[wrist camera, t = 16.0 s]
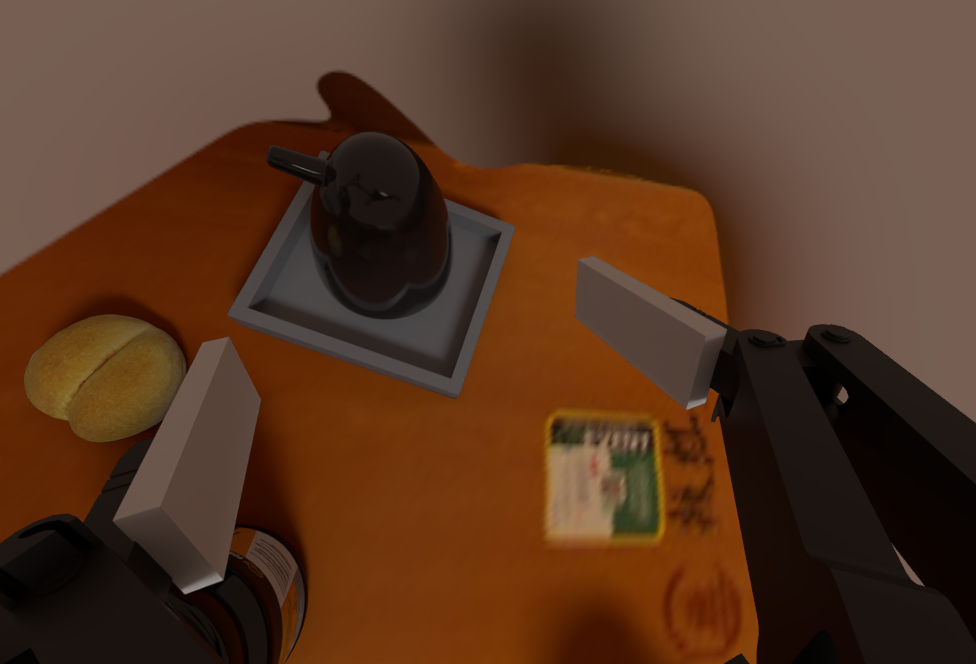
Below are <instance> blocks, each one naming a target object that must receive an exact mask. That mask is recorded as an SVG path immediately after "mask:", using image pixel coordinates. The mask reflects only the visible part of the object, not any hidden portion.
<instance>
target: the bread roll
mask: <svg viewBox="0 0 976 664" xmlns="http://www.w3.org/2000/svg"><path fill="white" fill-rule="evenodd" d="M185 377H186V361H185V358H184V355H183V353H182V351H181V349H180V348H179V346H178V344H177V343H176V341H174V339H173V338H172V337H171V336H170V335H169V334H167V333H166V332H164V331H163V330H161V329H159V328H157V327H155V326H153V325H152V324H150V323H148V322H146V321H143V320H141V319H137V318H133V317H128V316H122V315H116V314H108V315H99V316H92V317H89V318H87V319H84V320H81V321H79V322H76V323H74V324H72V325H70V326H69V327H67V328H65V329H63V330H61V331H60V332H57V333H56V334H55V335H54V336H53V337H51V338H50V339H49V340H48V341H47V342H46V343H44V344H43V345H42V347H41V348H40V349H39V350H37V351H36V352H35V353H34V354H33V355H32V357H31V359H30V362H29V364H28V366H27V368H26V372H25V375H24V385H25V391H26V395H27V397H28V398H29V400H30V401H31V403H32V404H33V405H34V406H35V407H36V408H37V409H39V410H40V411H42V412H44V413H46V414H48V415H50V416H52V417H54V418H59V419H63V420H69V424H70V426H71V428H72V430H73V431H74V433H75V434H76V435H78V436H79V437H81V438H83V439H85V440H88V441H93V442H108V441H115V440H119V439H123V438H126V437H129V436H132V435H135V434H138V433H140V432H142V431H144V430H146V429H148V428H150V427H152V426H154V425H155V424H157V423H159V422H160V421H162V420H163V419H164V418H165V416H166V414H167V412H168V410H169V408H170V406H171V404H172V402H173V400H174V398H175V396H176V394H177V392H178V390H179V388H180V386H181V384H182V382H183V381H184V379H185Z"/></svg>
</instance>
